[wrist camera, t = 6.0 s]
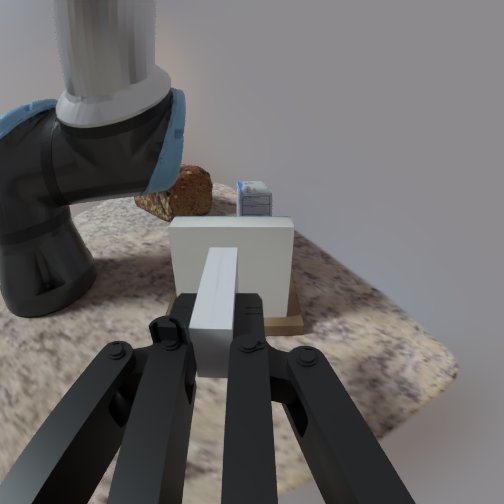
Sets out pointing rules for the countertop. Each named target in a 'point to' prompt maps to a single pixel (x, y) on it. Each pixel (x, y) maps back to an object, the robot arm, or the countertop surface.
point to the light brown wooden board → (277, 324)
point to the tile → (249, 254)
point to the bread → (181, 195)
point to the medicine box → (253, 199)
